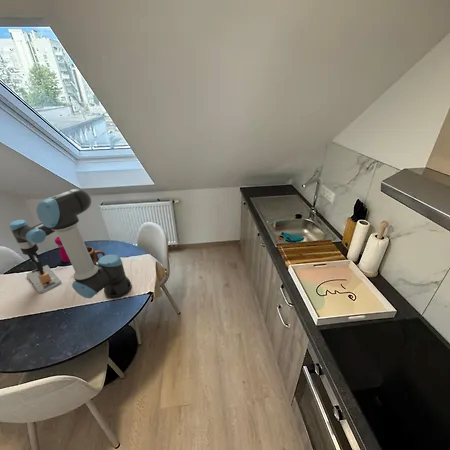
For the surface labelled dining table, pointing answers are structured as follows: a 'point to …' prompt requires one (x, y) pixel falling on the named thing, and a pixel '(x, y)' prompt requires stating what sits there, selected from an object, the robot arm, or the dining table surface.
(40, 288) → the grey slotted slider plate
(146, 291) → the dining table surface
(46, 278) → the fader cap
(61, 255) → the pepper mill
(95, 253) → the brown mug
